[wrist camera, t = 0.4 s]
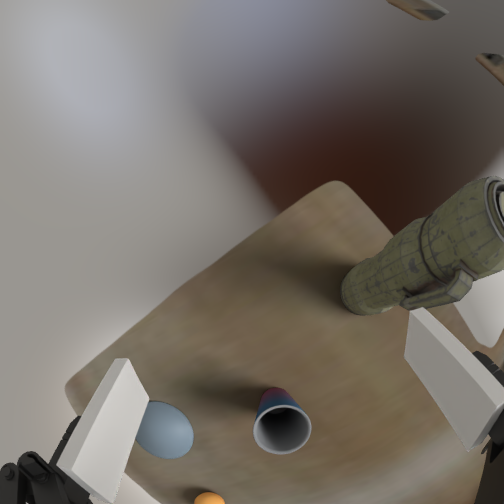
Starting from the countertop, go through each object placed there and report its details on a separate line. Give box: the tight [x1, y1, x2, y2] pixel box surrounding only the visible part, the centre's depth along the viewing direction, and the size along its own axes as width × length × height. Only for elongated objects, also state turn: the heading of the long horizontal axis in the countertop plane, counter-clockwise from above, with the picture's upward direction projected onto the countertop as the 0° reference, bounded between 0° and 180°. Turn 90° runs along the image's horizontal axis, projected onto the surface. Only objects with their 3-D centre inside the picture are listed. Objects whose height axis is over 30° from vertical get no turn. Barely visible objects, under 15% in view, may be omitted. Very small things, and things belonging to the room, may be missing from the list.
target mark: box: [135, 401, 194, 459], centre depth 40 cm, size 12×12×1 cm
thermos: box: [340, 176, 504, 315], centre depth 29 cm, size 9×12×35 cm
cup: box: [253, 388, 311, 454], centre depth 34 cm, size 7×7×15 cm
